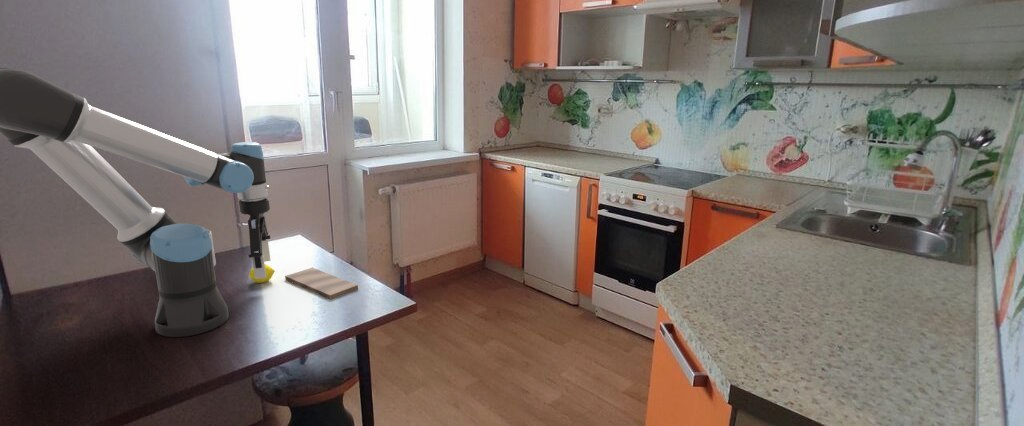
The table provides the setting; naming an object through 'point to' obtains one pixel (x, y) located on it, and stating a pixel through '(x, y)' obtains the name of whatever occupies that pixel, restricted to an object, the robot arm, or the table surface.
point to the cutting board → (321, 283)
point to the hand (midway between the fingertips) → (263, 269)
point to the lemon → (269, 274)
